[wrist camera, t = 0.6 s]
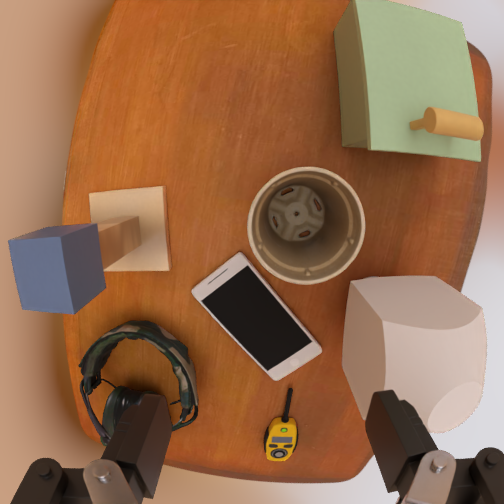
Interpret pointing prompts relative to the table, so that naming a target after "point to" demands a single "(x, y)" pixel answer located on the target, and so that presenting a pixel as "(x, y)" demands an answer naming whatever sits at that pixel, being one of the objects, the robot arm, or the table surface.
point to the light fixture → (415, 347)
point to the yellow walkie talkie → (281, 435)
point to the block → (58, 268)
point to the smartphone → (256, 317)
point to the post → (132, 228)
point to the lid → (417, 82)
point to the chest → (350, 81)
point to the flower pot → (306, 225)
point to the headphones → (123, 395)
